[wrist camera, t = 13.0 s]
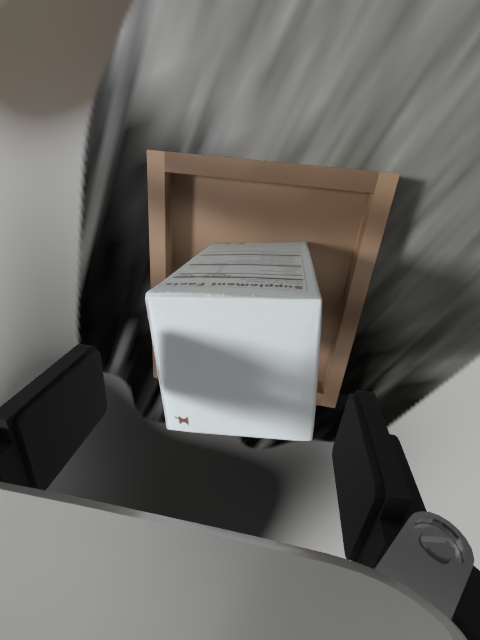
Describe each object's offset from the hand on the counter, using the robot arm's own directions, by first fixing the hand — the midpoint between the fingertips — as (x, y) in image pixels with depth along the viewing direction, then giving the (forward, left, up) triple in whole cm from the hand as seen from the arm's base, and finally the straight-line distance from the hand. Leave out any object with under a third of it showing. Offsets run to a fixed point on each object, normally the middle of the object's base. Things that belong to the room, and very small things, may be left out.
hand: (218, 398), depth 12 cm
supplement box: (0, 0, -15) cm, 15 cm away
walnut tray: (+1, 0, -15) cm, 15 cm away
